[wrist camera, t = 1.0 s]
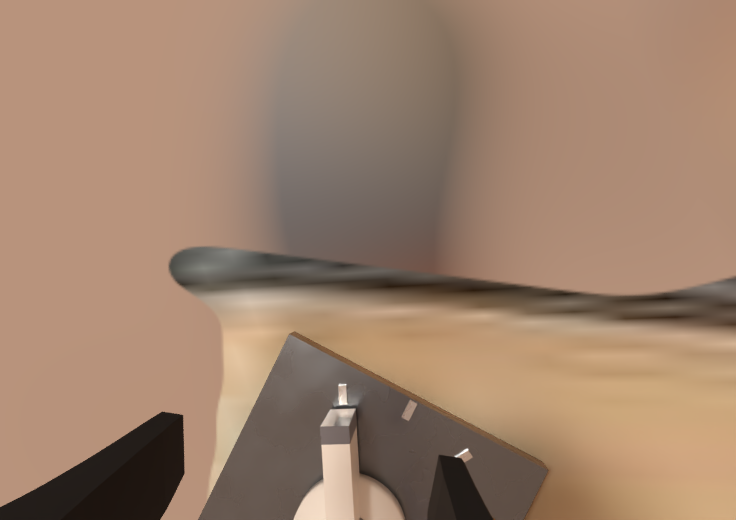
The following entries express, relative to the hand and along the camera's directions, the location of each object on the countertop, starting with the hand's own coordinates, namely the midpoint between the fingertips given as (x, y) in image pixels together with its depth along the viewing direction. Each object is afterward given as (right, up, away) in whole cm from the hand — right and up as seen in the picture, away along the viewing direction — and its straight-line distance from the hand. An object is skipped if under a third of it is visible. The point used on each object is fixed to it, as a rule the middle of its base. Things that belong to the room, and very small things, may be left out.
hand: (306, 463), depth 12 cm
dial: (+1, -9, +15) cm, 18 cm away
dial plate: (+1, -11, +16) cm, 20 cm away
